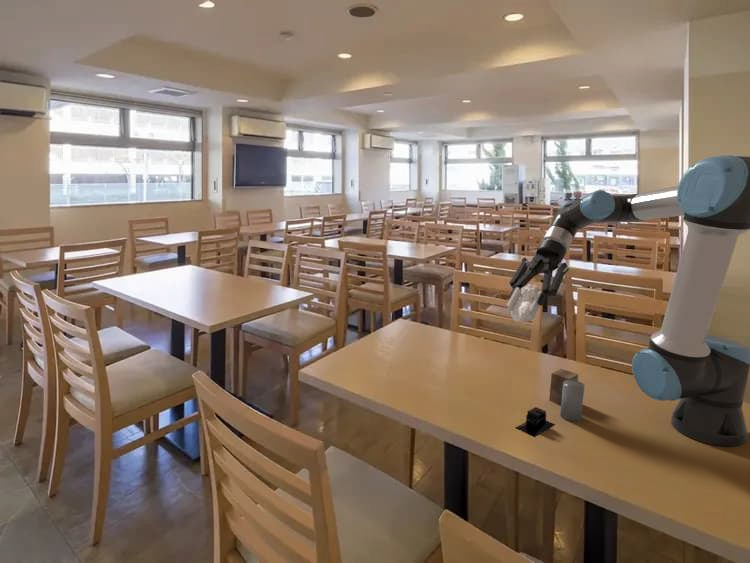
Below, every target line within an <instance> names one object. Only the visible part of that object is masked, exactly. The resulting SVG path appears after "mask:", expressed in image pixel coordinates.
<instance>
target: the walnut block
mask: <svg viewBox="0 0 750 563" xmlns="http://www.w3.org/2000/svg"><path fill="white" fill-rule="evenodd" d="M566 380H575V381H579V373H576V372H572V371H569V370H567V369H563V368H560V369H558V370H556V371H553V372H551V377H550V390H549V399H548V401H550V402H552V403H556V404H558V405H560V406H561V401H562V389H563V382H564V381H566Z"/></svg>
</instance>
